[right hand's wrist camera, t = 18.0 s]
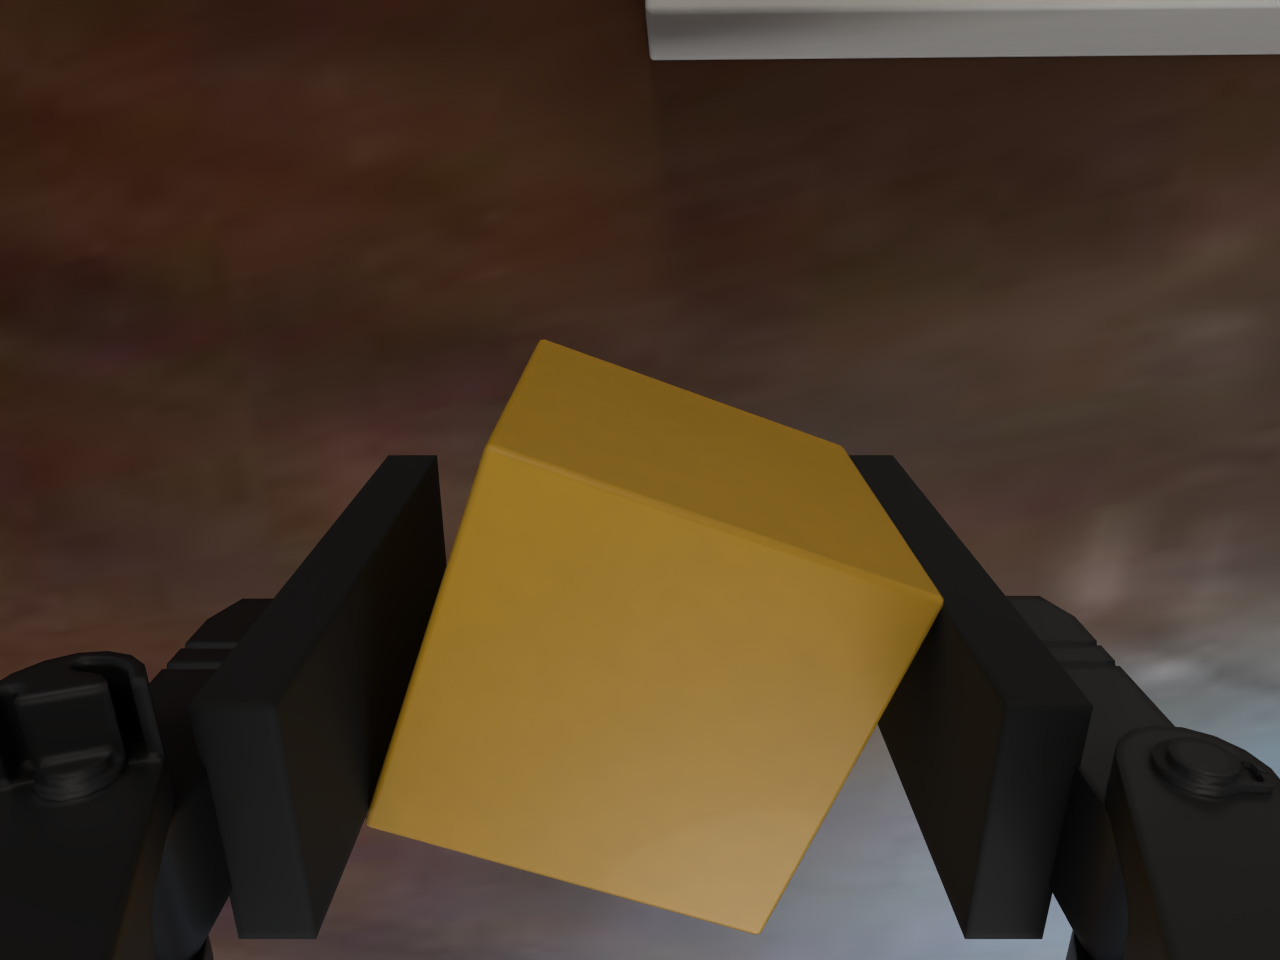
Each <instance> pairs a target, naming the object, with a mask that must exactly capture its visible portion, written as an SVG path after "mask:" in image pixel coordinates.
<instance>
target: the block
mask: <svg viewBox="0 0 1280 960" xmlns="http://www.w3.org/2000/svg"><path fill="white" fill-rule="evenodd" d="M943 602H944V600H943V597H942V596H941V594H940V593H939V591H938V590H937V588H936V587H935V585H934V584H933V582H932V581H931V579H930V578H929V576H928V575H927V573H926V572H925V570H924V569H923V567H922V566H921V564H920V563H919V561H918V560H917V558H916V557H915V555H914V554H913V552H912V551H911V549H910V548H909V546H908V545H907V543H906V542H905V540H904V538H903V537H902V535H901V534H900V532H899V531H898V529H897V528H896V526H895V525H894V523H893V522H892V520H891V519H890V517H889V516H888V514H887V513H886V511H885V510H884V508H883V507H882V505H881V504H880V502H879V501H878V499H877V498H876V496H875V495H874V493H873V492H872V490H871V489H870V487H869V486H868V484H867V483H866V481H865V480H864V478H863V477H862V475H861V474H860V472H859V471H858V469H857V468H856V466H855V465H854V463H853V462H852V460H851V459H850V457H849V456H848V454H847V453H846V451H845V450H844V448H843V447H842V446H840V445H838V444H835V443H832V442H829V441H826V440H824V439H821V438H818V437H815V436H812V435H810V434H807V433H804V432H801V431H798V430H796V429H793V428H790V427H787V426H785V425H782V424H779V423H776V422H773V421H771V420H768V419H765V418H762V417H759V416H757V415H754V414H751V413H748V412H745V411H743V410H740V409H737V408H734V407H732V406H729V405H726V404H723V403H720V402H718V401H715V400H712V399H709V398H706V397H704V396H701V395H698V394H695V393H692V392H690V391H687V390H684V389H681V388H678V387H676V386H673V385H670V384H667V383H665V382H662V381H659V380H656V379H653V378H651V377H648V376H645V375H642V374H639V373H637V372H634V371H631V370H628V369H625V368H623V367H620V366H617V365H614V364H612V363H609V362H606V361H603V360H600V359H598V358H595V357H592V356H589V355H586V354H584V353H581V352H578V351H575V350H572V349H570V348H567V347H564V346H561V345H559V344H556V343H553V342H550V341H547V340H540V342H539V343H538V344H537V346H536V348H535V350H534V352H533V354H532V356H531V358H530V360H529V362H528V364H527V366H526V368H525V370H524V372H523V374H522V376H521V378H520V380H519V381H518V383H517V385H516V387H515V389H514V391H513V393H512V395H511V397H510V399H509V401H508V403H507V405H506V407H505V409H504V411H503V413H502V415H501V417H500V419H499V421H498V422H497V424H496V426H495V428H494V430H493V432H492V434H491V436H490V438H489V440H488V442H487V444H486V446H485V448H484V451H483V454H482V457H481V460H480V463H479V466H478V470H477V473H476V476H475V479H474V482H473V485H472V488H471V491H470V494H469V498H468V501H467V504H466V507H465V510H464V513H463V516H462V519H461V523H460V526H459V529H458V532H457V535H456V538H455V541H454V544H453V548H452V551H451V554H450V557H449V560H448V563H447V566H446V569H445V573H444V576H443V579H442V582H441V585H440V588H439V591H438V594H437V598H436V601H435V604H434V607H433V610H432V613H431V616H430V619H429V623H428V626H427V629H426V632H425V635H424V638H423V641H422V644H421V648H420V651H419V654H418V657H417V660H416V663H415V666H414V669H413V673H412V676H411V679H410V682H409V685H408V688H407V691H406V694H405V698H404V701H403V704H402V707H401V710H400V713H399V716H398V719H397V723H396V726H395V729H394V732H393V735H392V738H391V741H390V744H389V748H388V751H387V754H386V757H385V760H384V763H383V766H382V769H381V773H380V776H379V779H378V782H377V785H376V788H375V791H374V794H373V798H372V801H371V804H370V807H369V810H368V813H367V816H366V822H367V825H368V826H370V827H372V828H376V829H379V830H383V831H386V832H390V833H393V834H397V835H401V836H404V837H408V838H411V839H415V840H418V841H422V842H426V843H429V844H433V845H436V846H440V847H444V848H447V849H451V850H454V851H458V852H461V853H465V854H469V855H472V856H476V857H479V858H483V859H486V860H490V861H494V862H497V863H501V864H504V865H508V866H511V867H515V868H519V869H522V870H526V871H529V872H533V873H537V874H540V875H544V876H547V877H551V878H554V879H558V880H562V881H565V882H569V883H572V884H576V885H579V886H583V887H587V888H590V889H594V890H597V891H601V892H605V893H608V894H612V895H615V896H619V897H622V898H626V899H630V900H633V901H637V902H640V903H644V904H647V905H651V906H655V907H658V908H662V909H665V910H669V911H673V912H676V913H680V914H683V915H687V916H690V917H694V918H698V919H701V920H705V921H708V922H712V923H715V924H719V925H723V926H726V927H730V928H733V929H737V930H740V931H744V932H748V933H751V934H760V933H761V932H762V930H763V928H764V926H765V925H766V923H767V921H768V919H769V917H770V916H771V914H772V912H773V910H774V908H775V907H776V905H777V903H778V901H779V899H780V898H781V896H782V894H783V892H784V890H785V889H786V887H787V885H788V883H789V881H790V880H791V878H792V876H793V874H794V872H795V871H796V869H797V867H798V865H799V863H800V862H801V860H802V858H803V856H804V854H805V853H806V851H807V849H808V847H809V845H810V844H811V842H812V840H813V838H814V836H815V835H816V833H817V831H818V829H819V827H820V826H821V824H822V822H823V820H824V818H825V817H826V815H827V813H828V811H829V810H830V808H831V806H832V804H833V802H834V801H835V799H836V797H837V795H838V793H839V792H840V790H841V788H842V786H843V784H844V783H845V781H846V779H847V777H848V775H849V774H850V772H851V770H852V768H853V766H854V765H855V763H856V761H857V759H858V757H859V756H860V754H861V752H862V750H863V748H864V747H865V745H866V743H867V741H868V739H869V738H870V736H871V734H872V732H873V730H874V729H875V727H876V725H877V723H878V721H879V720H880V718H881V716H882V714H883V712H884V711H885V709H886V707H887V705H888V703H889V702H890V700H891V698H892V696H893V694H894V693H895V691H896V689H897V687H898V685H899V684H900V682H901V680H902V678H903V676H904V675H905V673H906V671H907V669H908V667H909V666H910V664H911V662H912V660H913V658H914V657H915V655H916V653H917V651H918V649H919V648H920V646H921V644H922V642H923V641H924V639H925V637H926V635H927V633H928V632H929V630H930V628H931V626H932V624H933V623H934V621H935V619H936V617H937V615H938V614H939V612H940V610H941V608H942V606H943Z"/></svg>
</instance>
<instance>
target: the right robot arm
mask: <svg viewBox="0 0 1280 960" xmlns="http://www.w3.org/2000/svg"><path fill="white" fill-rule="evenodd" d="M848 456H849V457H850V459H851V460H852V462H853V463H854V465H855V466H856V468H857V469H858V471H859V472H860V474H861V475H862V477H863V478H864V480H865V481H866V483H867V484H868V486H869V487H870V489H871V490H872V492H873V493H874V495H875V496H876V498H877V499H878V501H879V502H880V504H881V505H882V507H883V508H884V510H885V511H886V513H887V514H888V516H889V517H890V519H891V520H892V522H893V523H894V525H895V526H896V528H897V529H898V531H899V532H900V534H901V535H902V537H903V538H904V540H905V542H906V543H907V545H908V546H909V548H910V549H911V551H912V552H913V554H914V555H915V557H916V558H917V560H918V561H919V563H920V564H921V566H922V567H923V569H924V570H925V572H926V573H927V575H928V576H929V578H930V579H931V581H932V582H933V584H934V585H935V587H936V588H937V590H938V591H939V593H940V594H941V596H942V597H943V600H944V602H943V606H942V608H941V610H940V612H939V614H938V615H937V617H936V619H935V621H934V623H933V624H932V626H931V628H930V630H929V632H928V633H927V635H926V637H925V639H924V641H923V642H922V644H921V646H920V648H919V649H918V651H917V653H916V655H915V657H914V658H913V660H912V662H911V664H910V666H909V667H908V669H907V671H906V673H905V675H904V676H903V678H902V680H901V682H900V684H899V685H898V687H897V689H896V691H895V693H894V694H893V696H892V698H891V700H890V702H889V703H888V705H887V707H886V709H885V711H884V712H883V714H882V716H881V718H880V720H879V721H878V726H879V728H880V731H881V733H882V736H883V738H884V741H885V743H886V746H887V748H888V751H889V753H890V755H891V758H892V760H893V763H894V765H895V768H896V770H897V773H898V775H899V778H900V780H901V782H902V785H903V787H904V790H905V792H906V795H907V797H908V800H909V802H910V805H911V807H912V810H913V812H914V814H915V817H916V819H917V822H918V824H919V827H920V829H921V832H922V834H923V837H924V839H925V842H926V844H927V846H928V849H929V851H930V854H931V856H932V859H933V861H934V864H935V866H936V869H937V871H938V874H939V876H940V878H941V881H942V883H943V886H944V888H945V891H946V893H947V896H948V898H949V901H950V903H951V905H952V908H953V910H954V913H955V915H956V918H957V920H958V923H959V925H960V928H961V930H962V933H963V935H964V937H965V939H1042V937H1043V933H1044V928H1045V923H1046V919H1047V914H1048V910H1049V905H1050V901H1051V896H1052V892H1053V894H1054V896H1055V898H1056V900H1057V901H1058V903H1059V905H1060V907H1061V909H1062V910H1063V912H1064V914H1065V916H1066V918H1067V920H1068V921H1069V923H1070V925H1071V927H1072V929H1073V931H1072V935H1071V940H1070V944H1069V948H1068V952H1067V957H1066V960H1280V779H1279V778H1278V776H1277V775H1276V774H1275V773H1274V771H1273V770H1272V769H1271V768H1270V767H1268V766H1267V765H1265V764H1264V763H1263V762H1261V761H1260V760H1258V759H1257V758H1256V757H1254V756H1253V755H1251V754H1250V753H1249V752H1247V751H1246V750H1244V749H1242V748H1239V747H1237V746H1235V745H1233V744H1231V743H1228V742H1226V741H1224V740H1222V739H1220V738H1217V737H1215V736H1212V735H1209V734H1205V733H1201V732H1197V731H1194V730H1190V729H1186V728H1182V727H1175V726H1174V725H1173V724H1172V723H1171V722H1170V721H1169V720H1168V718H1167V717H1166V716H1165V715H1164V714H1163V713H1162V712H1161V711H1160V710H1159V709H1158V707H1157V706H1156V705H1155V704H1154V703H1153V702H1152V701H1151V700H1150V699H1149V698H1148V697H1147V695H1146V694H1145V693H1144V692H1143V691H1142V690H1141V689H1140V688H1139V687H1138V686H1137V685H1136V683H1135V682H1134V681H1133V680H1132V679H1131V678H1130V677H1129V676H1128V675H1127V674H1126V672H1125V671H1124V670H1123V669H1122V668H1121V667H1120V666H1115V660H1114V659H1113V658H1112V657H1111V656H1110V655H1109V654H1108V653H1107V652H1106V651H1105V649H1104V648H1103V647H1102V646H1097V643H1096V640H1095V639H1094V637H1093V636H1092V635H1091V634H1090V633H1089V632H1088V631H1087V630H1086V629H1085V628H1084V627H1083V625H1082V624H1081V623H1080V622H1079V621H1078V620H1077V619H1076V618H1075V617H1074V616H1073V615H1071V614H1069V613H1067V612H1066V611H1064V610H1062V609H1061V608H1059V607H1057V606H1055V605H1054V604H1052V603H1050V602H1049V601H1047V600H1045V599H1044V598H1042V597H1040V596H1005V595H1004V594H1003V592H1002V591H1001V590H1000V589H999V588H998V586H997V585H996V584H995V583H994V581H993V580H992V579H991V578H990V576H989V575H988V574H987V573H986V571H985V570H984V569H983V568H982V566H981V565H980V564H979V563H978V561H977V560H976V559H975V558H974V556H973V555H972V554H971V553H970V551H969V550H968V549H967V548H966V546H965V545H964V544H963V543H962V541H961V540H960V539H959V538H958V536H957V535H956V534H955V533H954V531H953V530H952V529H951V528H950V526H949V525H948V524H947V523H946V521H945V520H944V519H943V518H942V517H941V515H940V514H939V513H938V512H937V510H936V509H935V508H934V507H933V505H932V504H931V503H930V502H929V500H928V499H927V498H926V497H925V495H924V494H923V493H922V492H921V490H920V489H919V488H918V487H917V485H916V484H915V483H914V482H913V480H912V479H911V478H910V477H909V475H908V474H907V473H906V472H905V470H904V469H903V468H902V467H901V465H900V464H899V463H898V462H897V460H896V459H895V458H894V457H893V455H848ZM446 566H447V565H446V554H445V543H444V531H443V520H442V509H441V497H440V486H439V475H438V463H437V455H389V456H388V457H387V458H386V459H385V461H384V462H383V463H382V464H381V465H380V467H379V468H378V469H377V470H376V472H375V473H374V474H373V475H372V477H371V478H370V479H369V480H368V482H367V483H366V484H365V485H364V487H363V488H362V489H361V490H360V492H359V493H358V494H357V495H356V497H355V498H354V499H353V500H352V502H351V503H350V504H349V505H348V507H347V508H346V509H345V510H344V512H343V513H342V514H341V515H340V517H339V518H338V519H337V520H336V522H335V523H334V524H333V525H332V527H331V528H330V529H329V530H328V532H327V533H326V534H325V535H324V537H323V538H322V539H321V540H320V542H319V543H318V544H317V545H316V547H315V548H314V549H313V550H312V551H311V553H310V554H309V555H308V556H307V558H306V559H305V560H304V561H303V563H302V564H301V565H300V566H299V568H298V569H297V570H296V571H295V573H294V574H293V575H292V576H291V578H290V579H289V580H288V581H287V583H286V584H285V585H284V586H283V588H282V589H281V590H280V591H279V593H278V594H277V595H276V596H275V598H274V599H241V600H240V601H238V602H236V603H234V604H233V605H231V606H229V607H228V608H226V609H224V610H223V611H221V612H219V613H218V614H216V615H214V616H212V617H211V618H209V619H207V620H206V622H205V623H204V624H203V625H202V626H201V627H200V628H199V629H198V630H197V631H196V633H195V634H194V635H193V636H192V637H191V638H190V639H189V640H188V641H187V642H186V644H185V649H180V650H179V651H178V652H177V654H176V655H175V656H174V657H173V658H172V659H171V660H170V661H169V662H168V663H167V669H162V670H161V671H160V672H159V673H158V674H157V676H156V677H155V678H154V679H153V680H152V681H151V682H150V683H149V681H148V677H147V673H146V669H145V665H144V664H143V663H141V662H140V661H139V660H137V659H136V658H135V657H133V656H132V655H128V654H122V653H116V652H110V651H102V652H87V653H76V654H72V655H67V656H63V657H59V658H55V659H50V660H46V661H43V662H40V663H38V664H35V665H33V666H30V667H27V668H25V669H22V670H20V671H17V672H15V673H12V674H10V675H9V676H7V677H5V678H4V679H2V680H0V960H214V959H213V952H212V948H211V944H210V940H209V935H208V934H209V932H210V930H211V928H212V926H213V924H214V923H215V921H216V919H217V917H218V915H219V913H220V912H221V910H222V908H223V906H224V904H225V902H226V901H227V899H228V897H229V896H230V900H231V905H232V909H233V914H234V919H235V923H236V928H237V932H238V937H239V939H316V938H317V935H318V933H319V930H320V928H321V925H322V923H323V920H324V918H325V915H326V913H327V910H328V908H329V906H330V903H331V901H332V898H333V896H334V893H335V891H336V888H337V886H338V883H339V881H340V878H341V876H342V874H343V871H344V869H345V866H346V864H347V861H348V859H349V856H350V854H351V851H352V849H353V846H354V844H355V842H356V839H357V837H358V834H359V832H360V829H361V827H362V824H363V822H364V819H365V817H366V815H367V812H368V810H369V807H370V804H371V801H372V798H373V794H374V791H375V788H376V785H377V782H378V779H379V776H380V773H381V769H382V766H383V763H384V760H385V757H386V754H387V751H388V748H389V744H390V741H391V738H392V735H393V732H394V729H395V726H396V723H397V719H398V716H399V713H400V710H401V707H402V704H403V701H404V698H405V694H406V691H407V688H408V685H409V682H410V679H411V676H412V673H413V669H414V666H415V663H416V660H417V657H418V654H419V651H420V648H421V644H422V641H423V638H424V635H425V632H426V629H427V626H428V623H429V619H430V616H431V613H432V610H433V607H434V604H435V601H436V598H437V594H438V591H439V588H440V585H441V582H442V579H443V576H444V573H445V569H446Z"/></svg>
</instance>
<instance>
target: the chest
mask: <svg viewBox="0 0 1280 960" xmlns="http://www.w3.org/2000/svg"><path fill="white" fill-rule="evenodd" d="M645 10H646V21H647V31H648V42H649V53H650V58H651V59H653V60H717V59H822V58H927V57H1031V56H1136V55H1240V54H1280V0H645Z"/></svg>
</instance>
